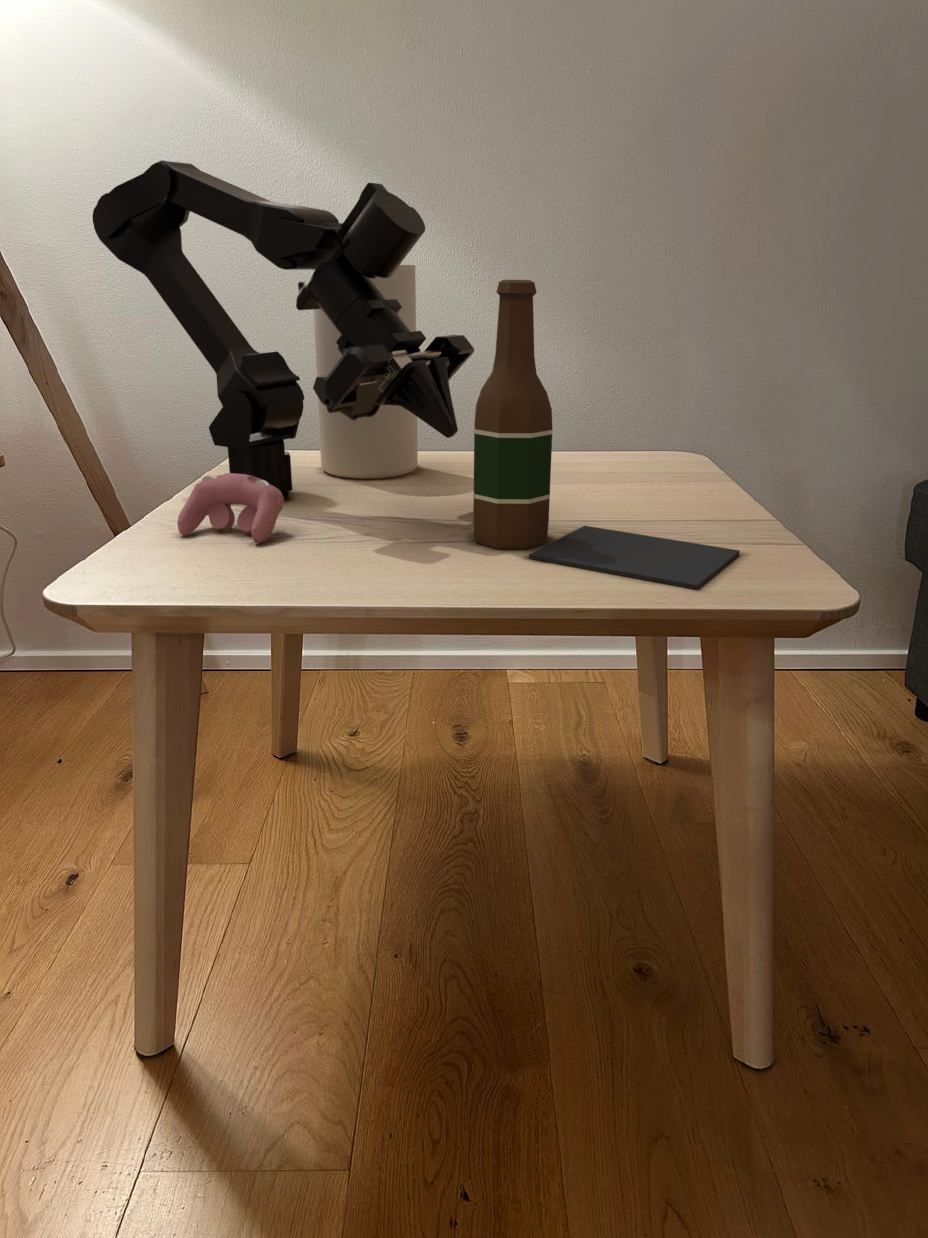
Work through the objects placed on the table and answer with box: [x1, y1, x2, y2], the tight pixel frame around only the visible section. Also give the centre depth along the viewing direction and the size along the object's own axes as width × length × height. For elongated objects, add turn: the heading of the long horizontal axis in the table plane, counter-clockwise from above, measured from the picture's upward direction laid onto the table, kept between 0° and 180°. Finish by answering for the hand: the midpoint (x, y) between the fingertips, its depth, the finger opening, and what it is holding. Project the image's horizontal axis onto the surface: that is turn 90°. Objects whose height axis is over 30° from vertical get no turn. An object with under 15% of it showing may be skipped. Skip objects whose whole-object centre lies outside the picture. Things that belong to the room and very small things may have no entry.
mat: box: [528, 525, 741, 590], centre depth 87 cm, size 16×12×1 cm
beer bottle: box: [472, 279, 553, 550], centre depth 88 cm, size 8×8×24 cm
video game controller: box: [176, 472, 285, 545], centre depth 93 cm, size 10×5×7 cm, turn 71°
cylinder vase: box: [311, 264, 419, 480], centre depth 118 cm, size 12×12×25 cm
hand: (453, 434), depth 92 cm, fingers closed
